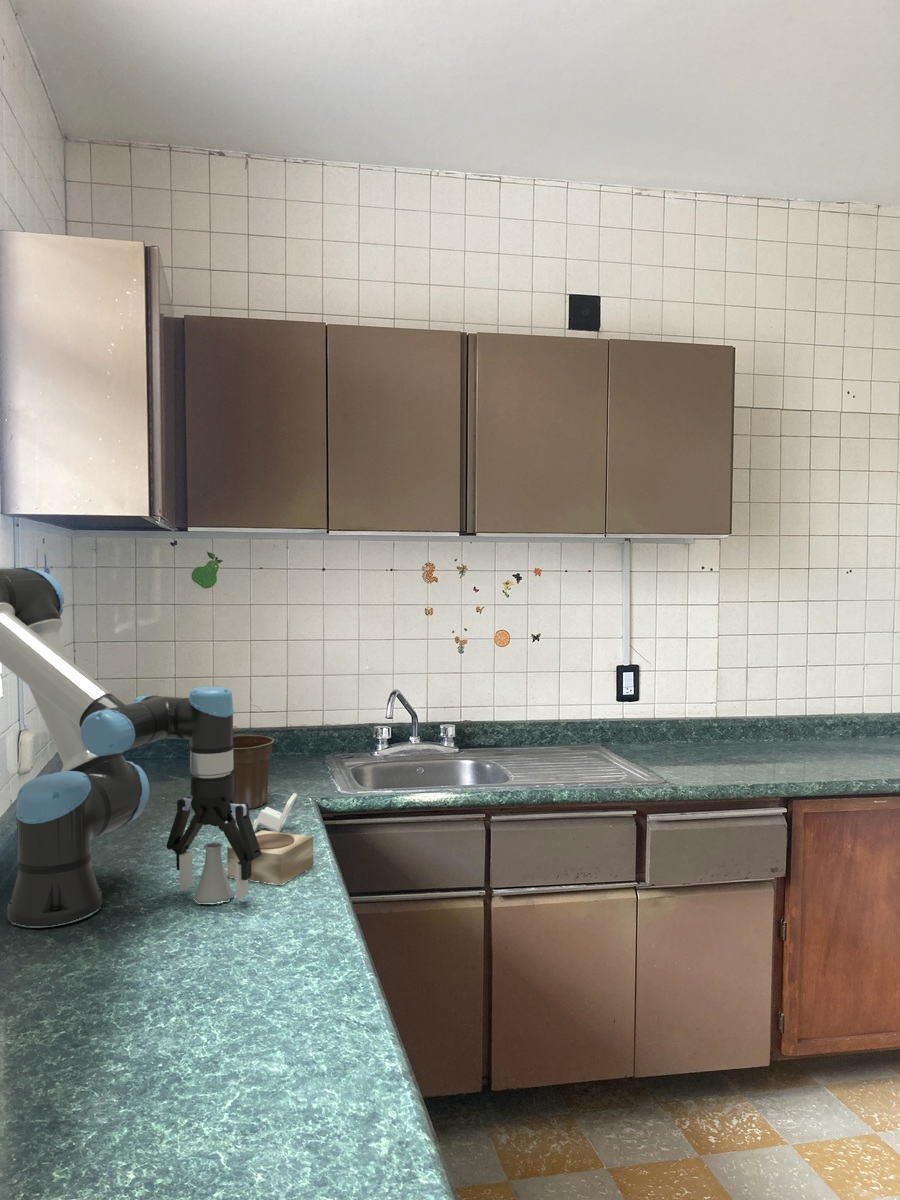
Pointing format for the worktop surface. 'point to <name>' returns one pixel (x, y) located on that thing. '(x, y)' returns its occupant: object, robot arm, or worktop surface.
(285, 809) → the mounting bracket
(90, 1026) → the worktop surface
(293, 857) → the wooden stand
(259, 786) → the plant pot
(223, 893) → the flask
